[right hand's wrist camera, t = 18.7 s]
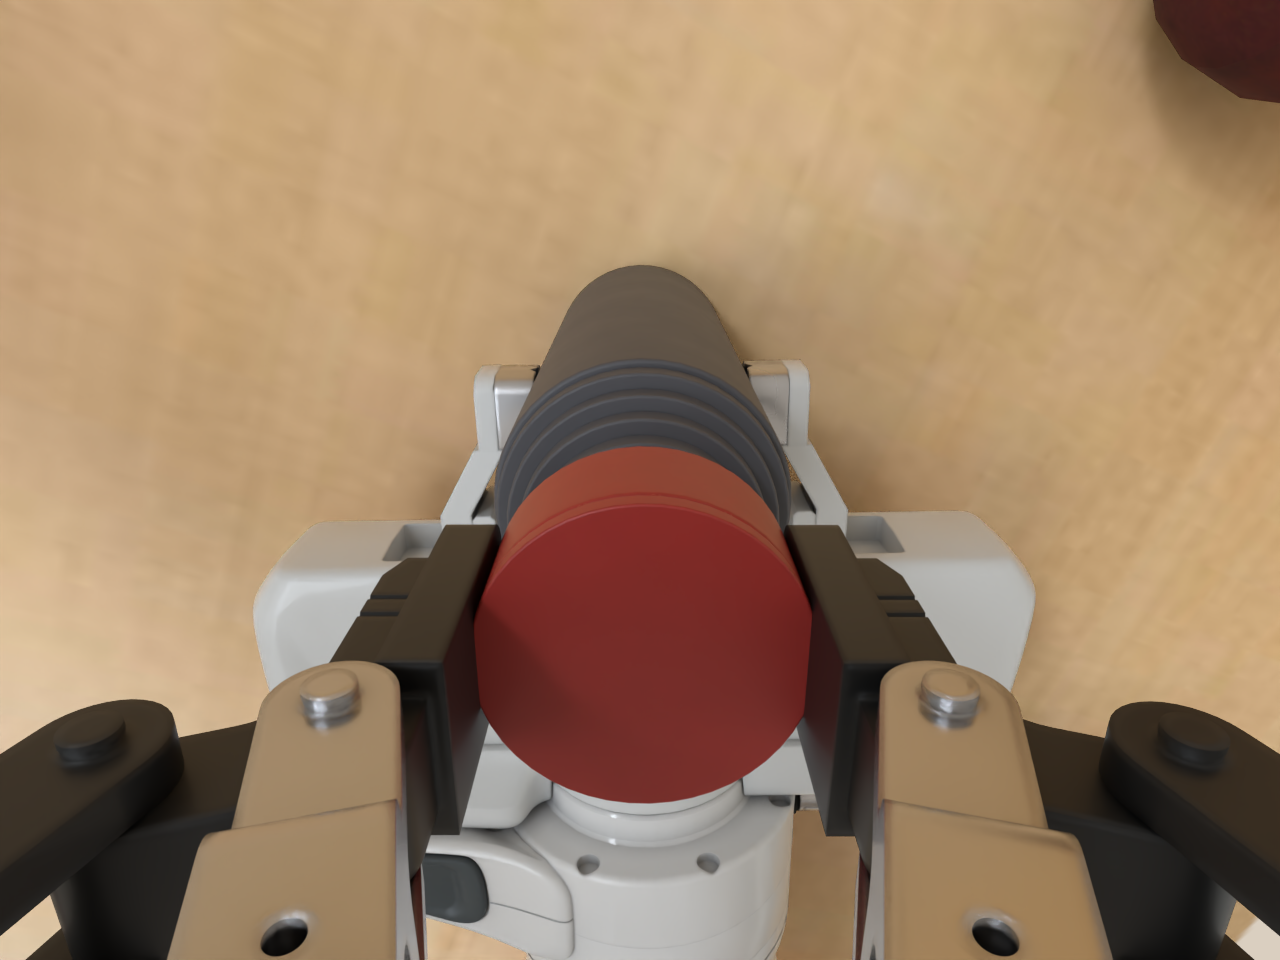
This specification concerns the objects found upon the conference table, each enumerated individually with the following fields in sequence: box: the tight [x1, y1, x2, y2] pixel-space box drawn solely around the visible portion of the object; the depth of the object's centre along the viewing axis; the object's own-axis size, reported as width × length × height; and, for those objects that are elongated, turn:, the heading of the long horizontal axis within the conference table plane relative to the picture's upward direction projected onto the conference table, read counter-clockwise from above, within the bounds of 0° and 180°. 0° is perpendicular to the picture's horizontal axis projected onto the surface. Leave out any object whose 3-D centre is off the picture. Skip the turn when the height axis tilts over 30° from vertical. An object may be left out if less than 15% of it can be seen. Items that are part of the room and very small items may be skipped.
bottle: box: [494, 265, 792, 538], centre depth 19 cm, size 5×5×17 cm
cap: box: [474, 446, 812, 804], centre depth 11 cm, size 4×4×2 cm
